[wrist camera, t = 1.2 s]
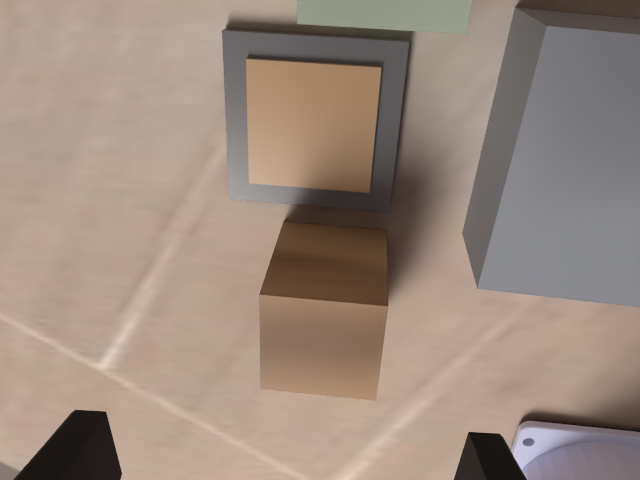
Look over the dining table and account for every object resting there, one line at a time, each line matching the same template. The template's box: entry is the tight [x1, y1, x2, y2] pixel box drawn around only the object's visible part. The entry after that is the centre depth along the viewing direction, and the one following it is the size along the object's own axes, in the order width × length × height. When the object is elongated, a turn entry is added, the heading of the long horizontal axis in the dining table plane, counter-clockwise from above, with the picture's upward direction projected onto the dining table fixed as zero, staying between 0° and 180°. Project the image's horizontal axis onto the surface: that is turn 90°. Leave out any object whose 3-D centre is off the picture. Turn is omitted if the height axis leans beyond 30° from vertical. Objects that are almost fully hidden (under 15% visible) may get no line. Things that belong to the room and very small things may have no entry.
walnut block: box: [259, 222, 388, 401], centre depth 20 cm, size 4×4×5 cm
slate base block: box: [462, 7, 640, 307], centre depth 17 cm, size 8×8×4 cm
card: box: [222, 29, 409, 212], centre depth 19 cm, size 6×6×1 cm
